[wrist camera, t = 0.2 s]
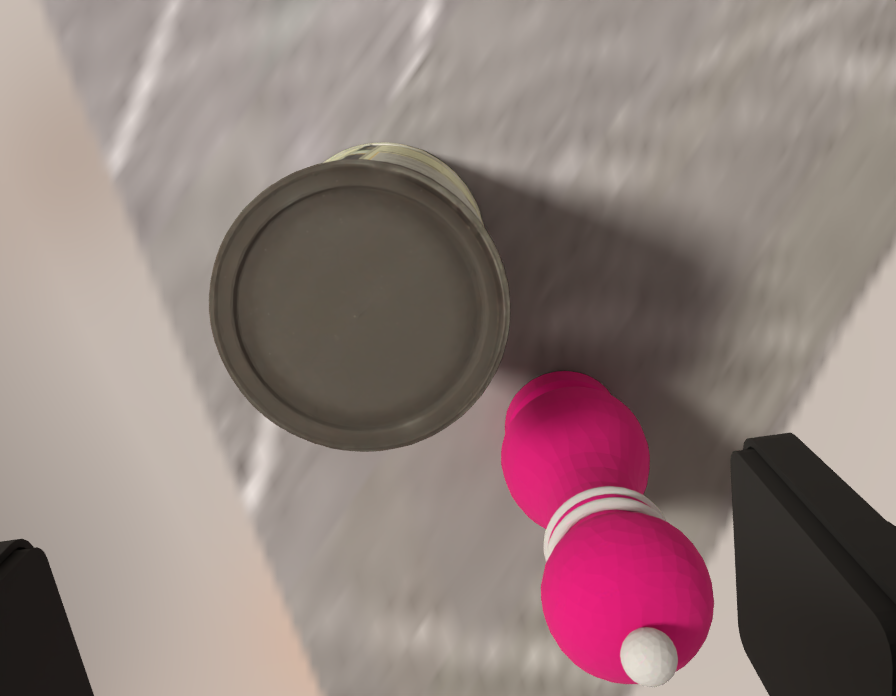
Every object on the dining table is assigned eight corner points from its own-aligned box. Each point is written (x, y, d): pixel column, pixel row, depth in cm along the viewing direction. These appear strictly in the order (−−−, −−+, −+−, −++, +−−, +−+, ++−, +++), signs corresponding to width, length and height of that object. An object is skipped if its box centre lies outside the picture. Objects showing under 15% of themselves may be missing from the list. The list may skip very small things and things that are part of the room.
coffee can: (435, 371, 42) (432, 496, 29) (256, 291, 41) (165, 382, 28) (522, 196, 40) (564, 243, 26) (333, 104, 38) (274, 104, 25)
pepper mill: (620, 484, 44) (755, 772, 25) (492, 481, 44) (531, 767, 25) (633, 363, 42) (791, 576, 23) (499, 359, 42) (546, 570, 23)
